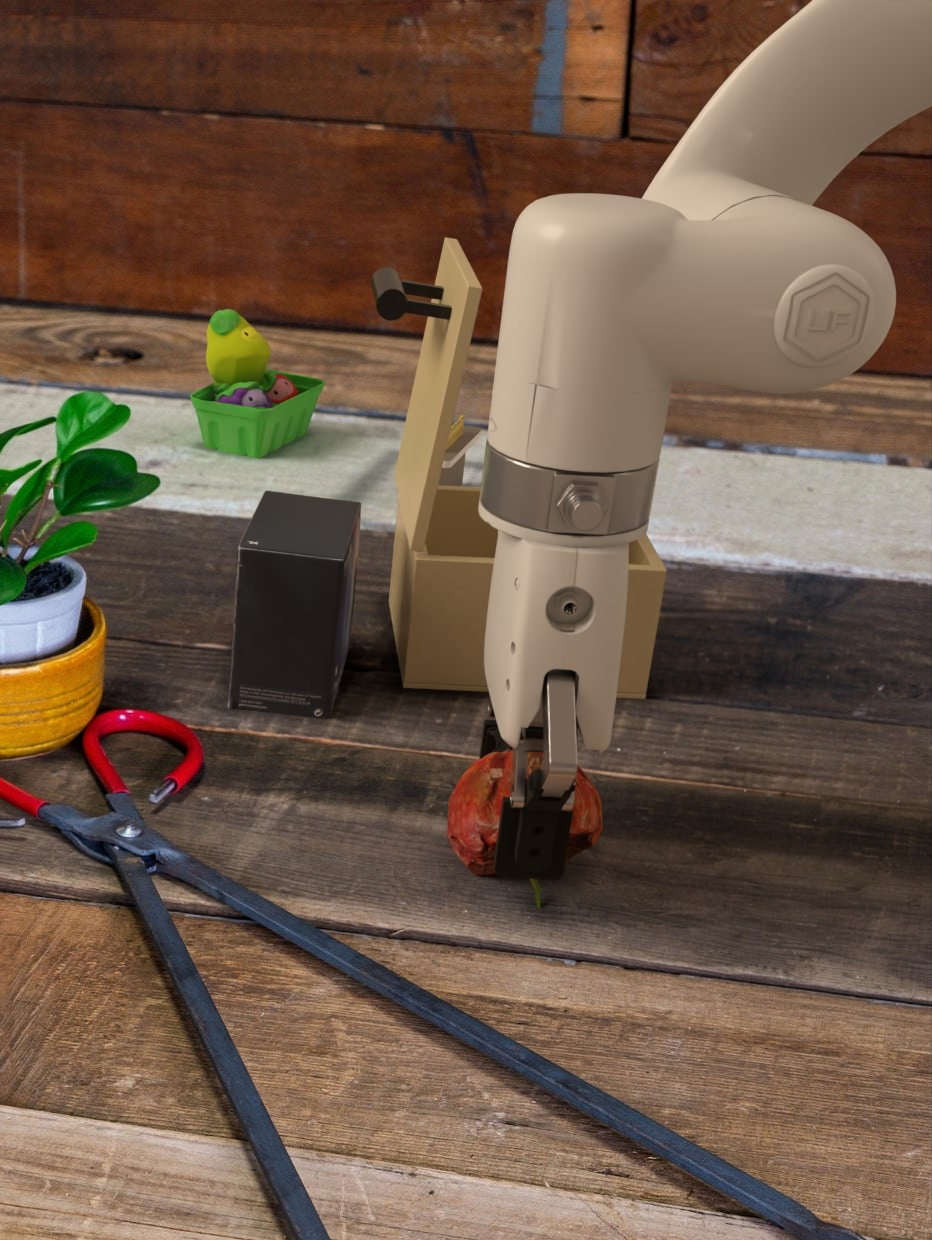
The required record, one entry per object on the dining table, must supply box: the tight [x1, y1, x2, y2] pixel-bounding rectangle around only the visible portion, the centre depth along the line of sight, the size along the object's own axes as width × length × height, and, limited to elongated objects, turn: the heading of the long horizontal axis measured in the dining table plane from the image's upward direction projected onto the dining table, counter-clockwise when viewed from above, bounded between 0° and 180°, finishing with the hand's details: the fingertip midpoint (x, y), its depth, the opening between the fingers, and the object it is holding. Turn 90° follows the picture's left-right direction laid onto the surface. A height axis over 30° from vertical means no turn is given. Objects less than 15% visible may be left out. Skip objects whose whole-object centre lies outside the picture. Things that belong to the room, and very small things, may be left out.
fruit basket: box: [189, 308, 326, 459], centre depth 143 cm, size 11×9×11 cm
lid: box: [370, 237, 483, 552], centre depth 100 cm, size 15×14×5 cm
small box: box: [226, 490, 362, 720], centre depth 100 cm, size 11×6×10 cm, turn 170°
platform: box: [438, 414, 483, 486], centre depth 132 cm, size 12×18×7 cm, turn 157°
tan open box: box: [388, 485, 668, 700], centre depth 106 cm, size 15×14×9 cm
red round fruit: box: [446, 728, 603, 910], centre depth 82 cm, size 7×7×10 cm
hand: (516, 830), depth 82 cm, fingers closed on red round fruit, 7 cm apart
